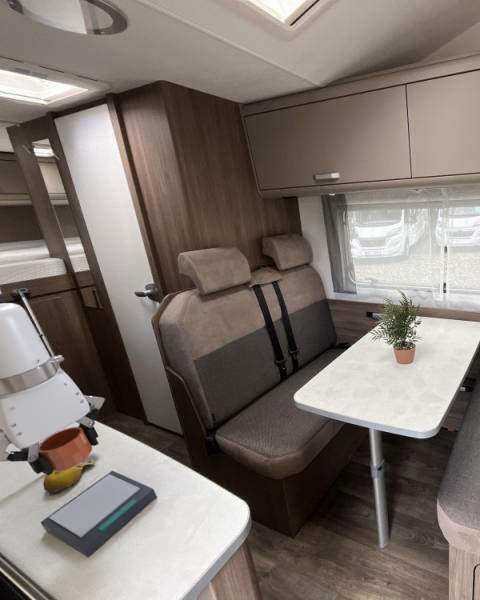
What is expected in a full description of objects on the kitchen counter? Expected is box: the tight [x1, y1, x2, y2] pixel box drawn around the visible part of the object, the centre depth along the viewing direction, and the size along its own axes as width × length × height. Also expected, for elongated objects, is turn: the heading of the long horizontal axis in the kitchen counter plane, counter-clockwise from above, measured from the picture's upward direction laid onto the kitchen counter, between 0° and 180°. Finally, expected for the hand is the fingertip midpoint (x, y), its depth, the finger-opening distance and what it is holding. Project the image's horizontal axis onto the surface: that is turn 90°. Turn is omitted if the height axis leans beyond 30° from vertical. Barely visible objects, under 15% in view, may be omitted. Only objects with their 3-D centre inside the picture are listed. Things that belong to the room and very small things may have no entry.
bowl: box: [38, 426, 93, 471], centre depth 58 cm, size 6×6×5 cm
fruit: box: [42, 459, 96, 495], centre depth 71 cm, size 8×8×4 cm
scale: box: [40, 470, 158, 558], centre depth 63 cm, size 14×12×3 cm
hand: (70, 456), depth 59 cm, fingers closed on bowl, 6 cm apart
